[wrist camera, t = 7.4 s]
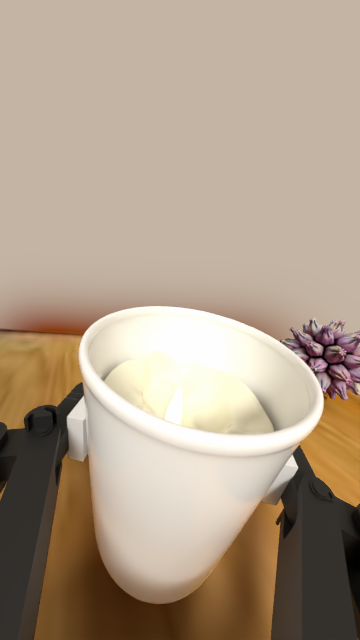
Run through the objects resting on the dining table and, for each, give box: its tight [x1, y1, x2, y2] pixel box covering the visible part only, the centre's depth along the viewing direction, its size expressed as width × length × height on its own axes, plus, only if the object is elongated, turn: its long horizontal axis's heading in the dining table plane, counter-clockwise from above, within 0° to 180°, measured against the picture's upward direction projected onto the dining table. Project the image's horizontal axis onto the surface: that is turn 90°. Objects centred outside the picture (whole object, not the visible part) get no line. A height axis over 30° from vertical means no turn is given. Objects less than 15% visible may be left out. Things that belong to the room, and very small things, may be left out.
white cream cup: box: [78, 306, 324, 604], centre depth 11 cm, size 10×10×12 cm
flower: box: [280, 318, 360, 401], centre depth 29 cm, size 12×12×12 cm
